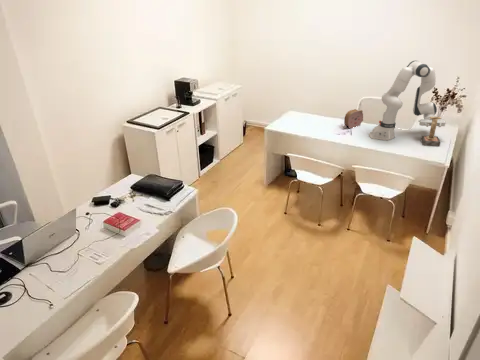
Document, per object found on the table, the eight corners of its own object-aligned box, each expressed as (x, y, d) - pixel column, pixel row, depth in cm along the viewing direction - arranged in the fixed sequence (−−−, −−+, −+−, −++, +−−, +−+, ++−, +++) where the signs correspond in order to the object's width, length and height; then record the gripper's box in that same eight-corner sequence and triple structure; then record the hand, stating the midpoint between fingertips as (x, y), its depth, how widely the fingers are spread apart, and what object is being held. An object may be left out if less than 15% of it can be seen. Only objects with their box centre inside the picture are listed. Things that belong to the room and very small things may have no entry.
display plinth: (422, 145, 309) (423, 141, 307) (420, 140, 319) (421, 135, 317) (439, 146, 305) (440, 141, 303) (436, 140, 315) (437, 136, 313)
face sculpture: (348, 129, 350) (349, 113, 342) (343, 127, 355) (344, 111, 347) (362, 125, 358) (364, 109, 350) (357, 123, 363) (359, 107, 355)
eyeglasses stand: (426, 139, 308) (431, 118, 298) (425, 136, 314) (429, 115, 304) (436, 140, 306) (441, 118, 296) (435, 137, 312) (439, 115, 302)
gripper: (418, 116, 317) (421, 122, 305) (444, 117, 311) (447, 123, 300) (417, 123, 320) (419, 129, 309) (442, 124, 314) (445, 130, 303)
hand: (433, 126), depth 304 cm, fingers open, 8 cm apart
